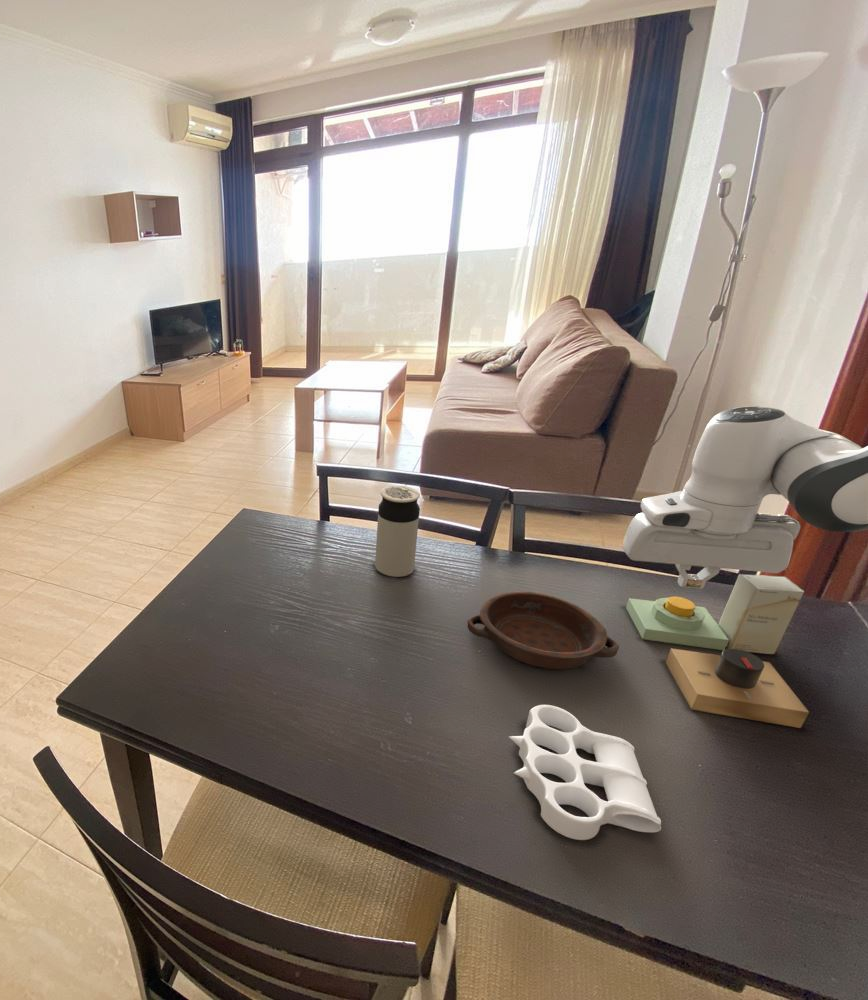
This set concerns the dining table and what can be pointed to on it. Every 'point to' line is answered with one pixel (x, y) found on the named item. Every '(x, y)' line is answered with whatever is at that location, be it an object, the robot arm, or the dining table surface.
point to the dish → (542, 630)
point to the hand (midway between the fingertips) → (689, 585)
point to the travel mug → (397, 531)
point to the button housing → (675, 625)
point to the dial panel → (735, 691)
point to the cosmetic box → (759, 612)
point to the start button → (680, 606)
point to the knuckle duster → (583, 776)
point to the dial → (739, 668)
